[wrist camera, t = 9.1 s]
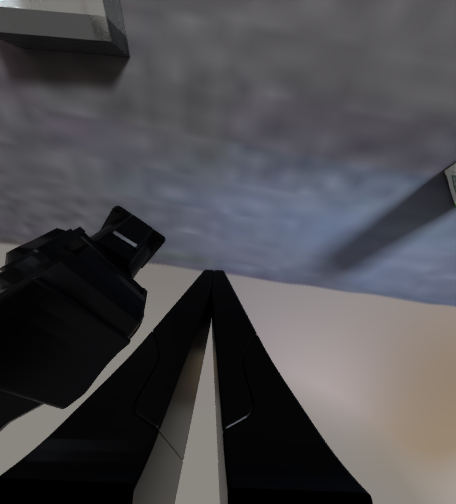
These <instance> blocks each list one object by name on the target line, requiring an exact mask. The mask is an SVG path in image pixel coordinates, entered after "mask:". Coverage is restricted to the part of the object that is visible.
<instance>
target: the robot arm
mask: <svg viewBox="0 0 456 504" xmlns="http://www.w3.org/2000/svg"><path fill="white" fill-rule="evenodd" d="M117 209H118V210H119V211H120V212H118V211H117ZM84 232H85V231H84V230H83V229H82V228H81V227H78V228H77V229H75V230H72V229H69V230H67V231H65V230H62V229H58V228H56V229H54V230H52V231H50V232H48V233H46V234H44V235H42V236H40V237H38V238H36V239H34V240H32V241H30V242H28V243H25V244H23V245H21V246H19V247H17V248H15V249H13V250H11V251H9V252H7V253H6V261H5V266H3V267H1V268H0V271H1V272H0V431H1V430H2V429H3V428H5V427H6V426H7V425H8V424H9V423H10V422H12V421H14V420H16V419H17V418H19V417H21V416H23V415H25V414H27V413H28V412H30V411H32V410H34V409H36V408H38V407H40V406H41V405H43V404H47V405H50V406H53V407H56V408H60V409H64V408H66V407H68V406H69V405H70V404H72V403H73V402H74V401H76V400H77V399H78V398H80V397H81V396H82V395H83V394H84V393H85V392H86V391H87V390H88V389H89V387H90V386H91V385H92V383H93V382H94V381H95V379H96V378H97V377H98V375H99V374H100V373H101V371H102V370H103V369H104V368H105V367H106V365H107V364H108V363H109V362H110V361H111V360H112V359H113V358H114V357H115V356H116V354H117V353H119V352H120V351H121V350H122V349H123V348H125V347H126V346H127V345H128V344H129V343H130V338H132V336H133V335H134V334H135V333H136V331H137V330H138V328H139V327H140V325H141V323H142V320H143V317H144V308H145V303H146V297H147V290H146V289H145V288H142V287H141V286H140V285H139V284H138V283H137V282H136V281H135V280H134V279H133V278H134V277H135V275H136V274H137V272H138V271H139V270H140V268H143V267H144V266H145V264H146V263H147V262H148V261H149V260H150V259H151V257H152V256H153V255H154V254H155V253H156V252H157V250H158V249H159V248H160V247H161V246H162V244H163V243H164V242H165V237H164V236H162V235H161V234H159V233H158V232H157V231H155V230H154V229H152V228H151V227H150V226H148V225H147V224H146V223H144V222H143V221H141V220H140V219H138V218H137V217H136V216H134V215H132V214H131V213H129V212H128V211H126V210H125V209H123V208H122V207H120V206H115V207H114V208H113V209H112V211H111V212H110V214H109V216H108V218H107V219H106V221H105V223H104V225H103V227H102V228H101V230H100V231H99V232H97V233H96V234H94V235H93V236H91V237H89V236H88V235H87V234H85V233H84ZM160 239H162V241H161V240H160ZM211 318H212V339H213V358H214V359H213V360H214V380H215V381H214V383H215V403H216V404H215V405H216V423H217V424H216V426H217V446H218V460H219V461H218V469H219V492H220V504H373V503H372V498H371V496H370V494H369V493H367V491H366V490H365V489H364V488H363V487H362V486H361V485H360V484H359V483H358V482H357V481H356V479H355V478H354V477H353V476H352V475H351V474H350V473H349V471H348V470H347V469H346V468H345V467H344V466H343V464H342V463H341V462H340V461H339V459H338V458H337V457H336V456H335V454H334V453H333V452H332V450H331V449H330V448H329V446H328V445H327V443H326V442H325V441H324V439H323V438H322V436H321V435H320V433H319V432H318V430H317V429H316V427H315V426H314V424H313V423H312V422H311V420H310V418H309V417H308V415H307V414H306V412H305V411H304V410H303V408H302V407H301V405H300V403H299V402H298V400H297V399H296V398H295V396H294V394H293V393H292V391H291V390H290V388H289V387H288V385H287V384H286V383H285V381H284V379H283V378H282V376H281V375H280V373H279V372H278V370H277V368H276V367H275V365H274V364H273V362H272V360H271V359H270V357H269V355H268V353H267V352H266V350H265V348H264V346H263V344H262V342H261V341H260V339H259V337H258V335H256V331H255V329H254V327H253V326H252V324H251V322H250V320H249V318H248V316H247V314H246V312H245V310H244V309H243V307H242V305H241V303H240V301H239V299H238V297H237V295H236V293H235V292H234V290H233V288H232V286H231V284H230V282H229V280H228V278H227V276H226V274H225V272H224V271H223V270H215V271H214V270H204V271H203V272H202V274H201V275H200V276H199V277H198V278H197V279H196V281H195V282H194V283H193V284H192V286H190V288H189V289H188V290H187V291H186V292H185V293H184V295H183V296H182V297H181V298H180V299H179V300H178V302H177V303H176V304H175V305H174V306H173V307H172V309H171V310H170V311H169V312H168V313H167V314H166V315H165V317H164V318H163V319H162V320H161V322H159V324H158V325H157V326H156V327H155V328H154V329H153V332H151V333H150V334H149V335H148V336H147V338H146V339H145V340H144V341H143V342H142V344H140V346H139V347H138V348H137V349H136V350H135V351H134V352H133V353H132V354H131V356H130V357H129V358H128V359H127V360H126V361H125V362H124V363H123V364H122V365H121V366H120V367H119V368H118V369H117V370H116V371H115V372H114V373H113V374H112V375H111V376H110V377H109V378H108V379H107V380H106V381H105V382H104V383H103V384H102V385H101V386H100V387H99V388H98V389H97V390H96V391H95V392H94V393H93V394H92V395H91V396H90V397H89V398H88V399H86V400H85V402H83V403H82V404H81V405H80V406H79V407H78V408H77V409H76V410H75V411H74V412H73V413H72V414H71V415H70V416H69V417H68V418H67V419H66V420H65V421H64V422H63V423H62V424H61V425H60V426H59V427H58V428H57V429H56V430H55V431H54V432H53V433H52V434H51V435H50V436H49V437H48V438H46V439H45V440H44V441H43V442H42V443H41V444H40V445H38V446H37V447H36V448H35V449H34V450H33V451H31V452H30V453H29V454H28V455H27V456H25V457H24V458H23V459H22V460H20V461H19V462H18V463H17V464H16V465H14V466H13V467H11V468H10V469H9V470H7V471H6V472H5V473H3V474H2V475H1V476H0V504H175V499H176V493H177V489H178V484H179V479H180V473H181V469H182V464H183V461H182V460H183V459H184V453H185V448H186V444H187V439H188V434H189V429H190V424H191V419H192V414H193V409H194V404H195V399H196V393H197V389H198V384H199V379H200V374H201V369H202V364H203V359H204V354H205V349H206V344H207V339H208V334H209V329H210V324H211Z"/></svg>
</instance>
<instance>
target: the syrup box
mask: <svg viewBox="0 0 456 504" xmlns="http://www.w3.org/2000/svg"><path fill="white" fill-rule="evenodd" d="M444 172H445V175H446V176H447V179H448V183H449V187H450V191H451V194H452V197H453V200H454V203H455V206H456V163H455V164H453V165H452V166H450V167H449V168H448V169H446V170H445V171H444Z"/></svg>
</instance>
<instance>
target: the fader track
mask: <svg viewBox="0 0 456 504" xmlns="http://www.w3.org/2000/svg"><path fill="white" fill-rule="evenodd" d="M0 39H1V40H4V41H6V42H8V43H10V44H13V45H15V46H17V47H19V48H27V49H39V50H51V51H63V52H75V53H87V54H99V55H111V56H123V57H130V55H129V49H128V44H127V38H126V33H125V28H124V22H123V17H122V11H121V6H120V0H0Z"/></svg>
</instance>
